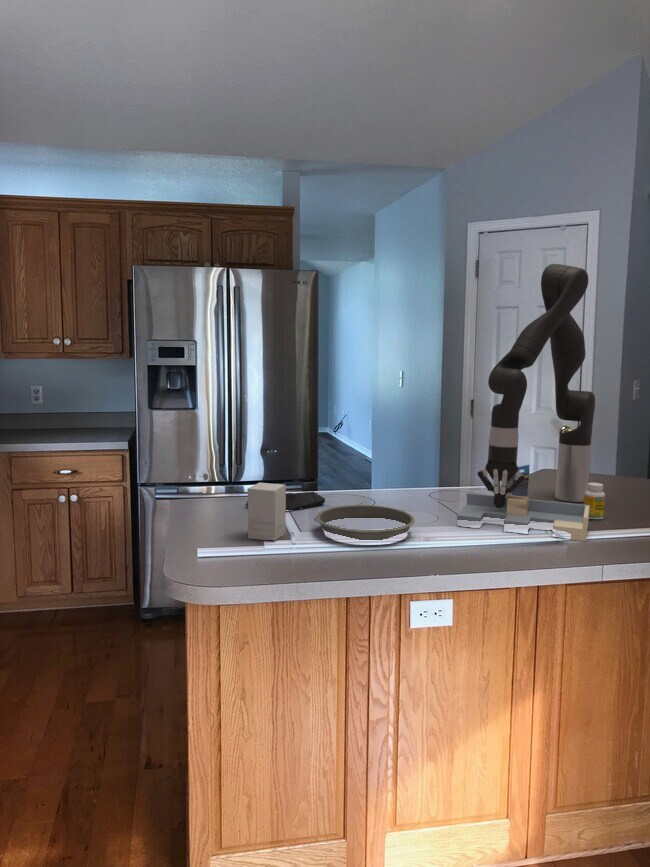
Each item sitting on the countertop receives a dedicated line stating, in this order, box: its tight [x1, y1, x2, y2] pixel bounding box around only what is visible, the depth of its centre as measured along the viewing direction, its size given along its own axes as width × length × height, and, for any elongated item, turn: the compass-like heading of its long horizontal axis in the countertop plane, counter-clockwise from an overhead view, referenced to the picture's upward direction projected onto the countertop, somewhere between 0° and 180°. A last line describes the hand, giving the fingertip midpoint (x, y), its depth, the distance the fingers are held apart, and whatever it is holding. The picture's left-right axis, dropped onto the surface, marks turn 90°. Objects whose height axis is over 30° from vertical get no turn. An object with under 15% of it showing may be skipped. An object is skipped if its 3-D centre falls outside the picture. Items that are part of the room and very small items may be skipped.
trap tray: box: [456, 492, 590, 542], centre depth 194 cm, size 14×32×6 cm, turn 69°
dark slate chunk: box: [244, 491, 326, 511], centre depth 212 cm, size 15×22×5 cm
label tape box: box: [506, 464, 530, 497], centre depth 215 cm, size 9×4×12 cm, turn 135°
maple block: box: [507, 495, 530, 516], centre depth 197 cm, size 5×5×4 cm
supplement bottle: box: [583, 482, 606, 520], centre depth 204 cm, size 5×5×10 cm
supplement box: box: [247, 482, 287, 541], centre depth 180 cm, size 7×7×13 cm
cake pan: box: [315, 504, 416, 540], centre depth 186 cm, size 25×25×4 cm
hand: (499, 507), depth 199 cm, fingers closed
